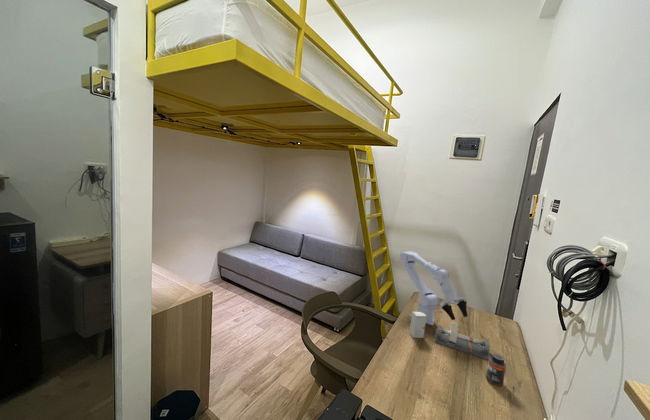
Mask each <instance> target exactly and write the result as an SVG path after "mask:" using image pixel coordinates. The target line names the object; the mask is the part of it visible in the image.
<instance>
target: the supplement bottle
mask: <svg viewBox="0 0 650 420" xmlns="http://www.w3.org/2000/svg"><path fill="white" fill-rule="evenodd" d="M490 357H491V358H489V360H488V362H487V369H486V374H485V378H486V380H487V382H488V383H490V384H491V385H493V386H495V387H502V386H504V381H505V375H506V370H507V364H506V363H505V358H504V356H503V355H501V354H499V353H495V352H494V353H492V356H490Z"/></svg>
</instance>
